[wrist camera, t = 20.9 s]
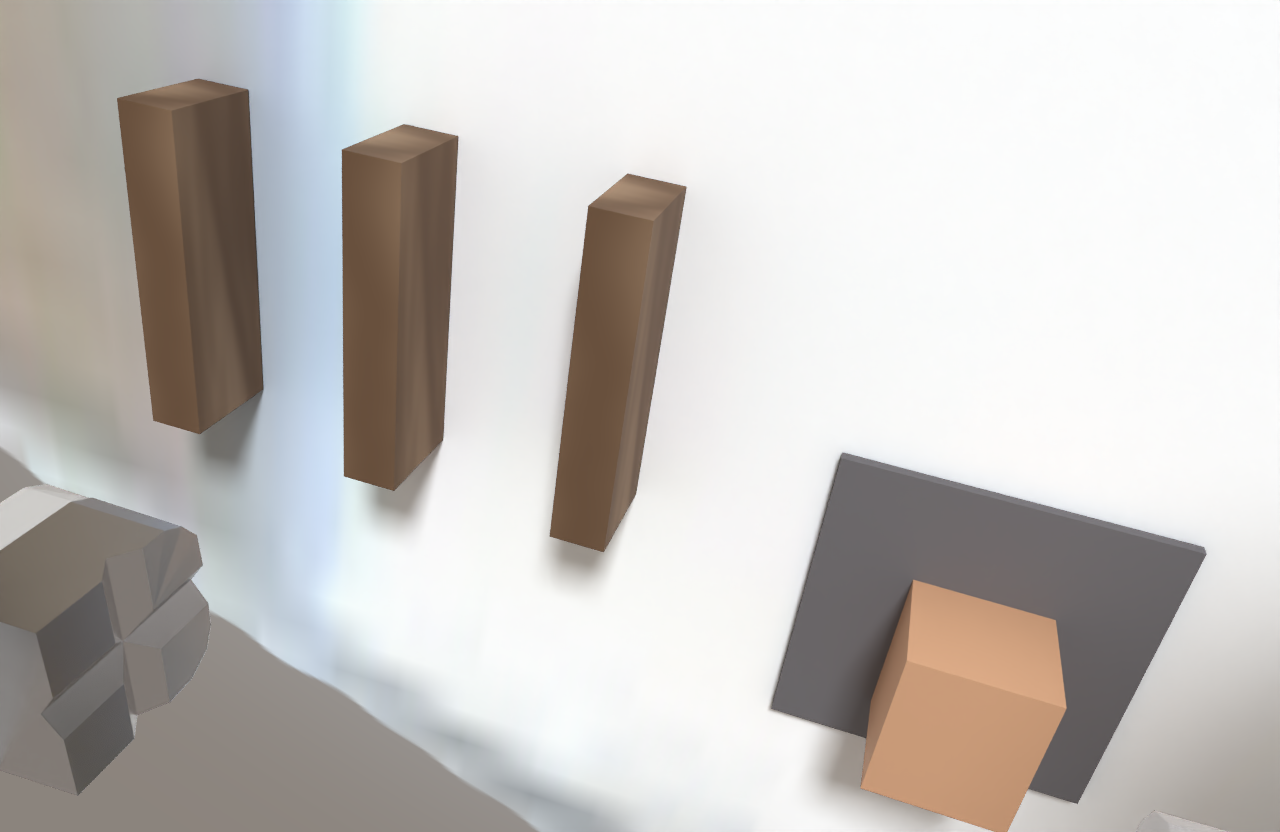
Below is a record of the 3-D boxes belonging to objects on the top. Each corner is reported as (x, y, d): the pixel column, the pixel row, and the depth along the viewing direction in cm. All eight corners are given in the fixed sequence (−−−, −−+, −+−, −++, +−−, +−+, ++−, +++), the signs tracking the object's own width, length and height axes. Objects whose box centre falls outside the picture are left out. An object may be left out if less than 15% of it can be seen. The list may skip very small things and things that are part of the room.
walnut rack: (686, 186, 33) (653, 220, 29) (635, 493, 39) (603, 552, 35) (198, 78, 36) (117, 98, 32) (220, 377, 42) (153, 420, 38)
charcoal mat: (1203, 547, 33) (1206, 554, 33) (1076, 795, 39) (1077, 803, 39) (842, 452, 35) (841, 458, 35) (773, 701, 41) (771, 708, 41)
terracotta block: (1055, 620, 35) (1066, 708, 32) (1001, 740, 38) (1005, 835, 35) (913, 579, 36) (906, 660, 32) (870, 700, 39) (860, 788, 35)
